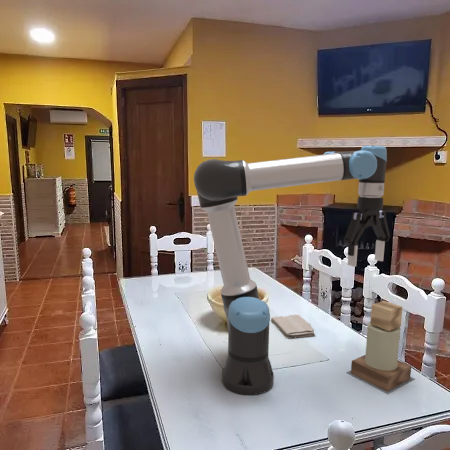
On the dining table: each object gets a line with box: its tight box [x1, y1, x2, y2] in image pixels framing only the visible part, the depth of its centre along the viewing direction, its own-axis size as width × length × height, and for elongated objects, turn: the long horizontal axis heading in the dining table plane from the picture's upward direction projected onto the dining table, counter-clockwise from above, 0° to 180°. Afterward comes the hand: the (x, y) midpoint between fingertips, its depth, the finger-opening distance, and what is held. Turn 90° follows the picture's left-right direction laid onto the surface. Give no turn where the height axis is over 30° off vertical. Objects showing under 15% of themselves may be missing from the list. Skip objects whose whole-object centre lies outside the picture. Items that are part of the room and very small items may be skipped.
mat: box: [346, 370, 415, 395], centre depth 122 cm, size 14×14×1 cm
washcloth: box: [270, 314, 316, 339], centre depth 156 cm, size 12×18×3 cm, turn 15°
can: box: [365, 321, 401, 371], centre depth 120 cm, size 9×9×12 cm
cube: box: [370, 300, 403, 331], centre depth 119 cm, size 6×6×6 cm
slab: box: [350, 354, 412, 391], centre depth 121 cm, size 12×12×4 cm
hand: (365, 263), depth 130 cm, fingers open, 13 cm apart
